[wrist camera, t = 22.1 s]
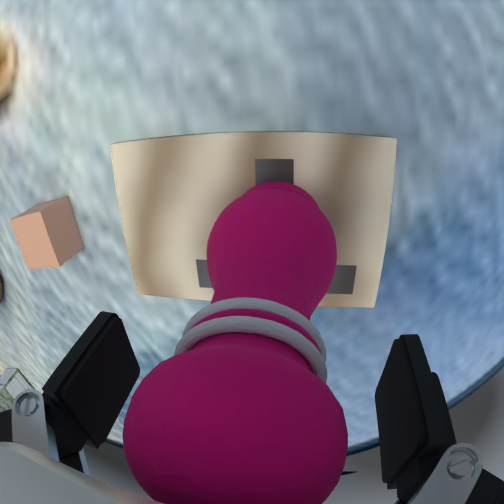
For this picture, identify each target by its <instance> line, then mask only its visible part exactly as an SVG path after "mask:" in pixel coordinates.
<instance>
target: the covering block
mask: <svg viewBox="0 0 504 504" xmlns="http://www.w3.org/2000/svg"><path fill="white" fill-rule="evenodd" d="M10 221H11V224H12V227H13V230H14V233H15V236H16V239H17V241H18V244H19V247H20V249H21V252H22V254H23V257H24V260H25V262H26V264H27V267H28V269H34V268H47V267H60V266H61V265H63V264H64V263H65V262H66V261H67V260H69V259H70V258H71V257H72V256H73V255H75V254H76V253H77V252H78V251H80V250H81V249H82V248H83V247H84V244H83V241H82V238H81V235H80V232H79V229H78V226H77V223H76V220H75V216H74V213H73V210H72V207H71V203H70V200H69V196H67V197H63V198H59V199H56V200H52V201H49V202H45V203H42V204H38V205H36V206H34V207H32V208H30V209H28V210H27V211H25V212H23V213H21V214H19V215H18V216H16V217H14V218H12V219H11V220H10Z"/></svg>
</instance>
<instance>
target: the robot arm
mask: <svg viewBox="0 0 504 504" xmlns="http://www.w3.org/2000/svg"><path fill="white" fill-rule="evenodd" d="M139 374H140V367H139V365H138V362H137V360H136V357H135V355H134V352H133V349H132V347H131V344H130V342H129V339H128V336H127V333H126V331H125V328H124V325H123V322H122V320H121V319H120V318H119V317H118V315H117V314H115V313H110V312H104V311H102V312H100V313H99V314H98V315H97V317H96V318H95V319H94V320H93V322H92V323H91V324H90V325H89V327H88V328H87V329H86V330H85V332H84V333H83V334H82V335H81V337H80V338H79V339H78V341H77V342H76V343H75V344H74V346H73V347H72V348H71V350H70V351H69V352H68V354H67V355H66V356H65V358H64V359H63V360H62V362H61V363H60V364H59V366H58V367H57V368H56V370H55V371H54V372H53V374H52V375H51V376H50V378H49V379H48V381H47V382H46V383H45V385H44V386H43V388H42V390H43V391H44V392H43V394H41V393H40V392H39V391H37V390H35V389H27V390H24V391H22V392H21V393H19V394H18V395H17V396H16V398H15V399H14V401H13V403H12V409H9V410H6V411H2V412H0V504H164V503H161V502H157V501H154V500H151V499H148V498H144V497H141V496H139V495H136V494H133V493H130V492H127V491H124V490H122V489H119V488H116V487H114V486H112V485H109V484H106V483H104V482H102V481H99V480H97V479H95V478H93V477H90V473H89V470H88V466H87V463H86V460H85V455H84V451H83V446H84V445H85V444H87V445H89V446H91V447H93V448H96V449H98V448H99V446H100V444H102V443H104V442H105V440H106V438H107V436H108V434H109V432H110V430H111V428H112V426H113V425H114V423H115V421H116V419H117V417H118V415H119V413H120V411H121V409H122V407H123V405H124V403H125V401H126V400H127V398H128V396H129V394H130V392H131V390H132V388H133V386H134V384H135V383H136V381H137V379H138V377H139ZM375 403H376V412H377V421H378V430H379V441H380V453H381V468H382V480H383V482H384V483H387V489H397V497H398V498H399V499H398V500H397V501H396V502H395V504H504V481H502V480H501V479H499V478H498V477H496V476H494V475H493V474H491V473H489V472H488V471H486V470H484V469H483V468H482V467H483V459H482V456H481V454H480V452H479V451H478V450H477V448H475V447H474V446H473V445H470V444H467V443H458V444H457V443H456V439H455V435H454V431H453V427H452V423H451V419H450V415H449V411H448V408H447V404H446V401H445V397H444V394H443V390H442V387H441V384H440V381H439V378H438V375H437V374H436V373H435V372H431V371H430V367H429V364H428V361H427V358H426V355H425V352H424V349H423V346H422V343H421V340H420V338H419V336H418V335H417V334H408V335H401V336H400V337H399V339H395V340H394V342H393V345H392V348H391V351H390V354H389V356H388V359H387V362H386V365H385V367H384V370H383V373H382V375H381V378H380V381H379V383H378V386H377V388H376V392H375Z"/></svg>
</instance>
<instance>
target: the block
mask: <svg viewBox="0 0 504 504" xmlns="http://www.w3.org/2000/svg"><path fill="white" fill-rule="evenodd" d="M1 298H2V282H1V279H0V302H1Z"/></svg>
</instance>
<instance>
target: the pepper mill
mask: <svg viewBox="0 0 504 504" xmlns="http://www.w3.org/2000/svg"><path fill="white" fill-rule="evenodd" d="M206 253H207V270H208V274H209V278H210V281H211V284H212V287H213V290H214V294H213V298H212V301H211V304H210V305H208V306H206V307H204V308H203V309H201V310H200V311H199V312H197V313H196V314H195V315H194V316H193V317H192V318H191V319H190V321H189V322H188V323H187V325H186V327H185V330H184V333H183V336H182V338H181V339H180V340H179V342H178V344H177V346H176V350H175V354H174V356H173V357H171V358H169V359H167V360H165V361H163V362H161V363H160V364H158V365H157V366H156V367H155V368H154V369H153V370H152V371H151V372H150V373H149V374H148V375H147V376H146V377H145V378H144V379H143V380H142V381H141V383H140V385H139V386H138V388H137V389H136V391H135V393H134V394H133V396H132V399H131V402H130V405H129V408H128V411H127V414H126V417H125V420H124V428H123V444H124V451H125V457H126V460H127V463H128V465H129V467H130V469H131V471H132V474H133V475H134V477H135V479H136V480H137V482H138V484H139V485H140V486H141V487H142V488H143V489H144V490H145V492H146V493H147V494H148V495H149V496H150V497H151V498H152V499H153V500H155V501H157V502H161V503H164V504H322V503H323V502H324V501H325V500H326V499H327V498H328V496H329V495H330V493H331V492H332V491H333V489H334V488H335V486H336V485H337V483H338V481H339V479H340V476H341V473H342V471H343V468H344V465H345V460H346V455H347V449H348V433H347V427H346V422H345V417H344V413H343V408H342V407H341V405H340V404H339V402H338V401H337V399H336V398H335V396H334V395H333V393H332V392H331V390H330V388H329V387H328V385H326V380H327V369H326V365H325V362H326V349H325V345H324V341H323V339H322V337H321V335H320V333H319V332H318V330H317V329H316V328H315V326H314V325H313V324H312V323H311V322H310V317H311V314H312V313H313V311H314V310H315V308H316V307H317V306H318V304H319V303H320V302H321V300H322V299H323V297H324V296H325V295H326V293H327V291H328V289H329V287H330V284H331V281H332V279H333V276H334V273H335V269H336V262H337V246H336V238H335V235H334V232H333V229H332V227H331V225H330V223H329V221H328V219H327V218H326V216H325V215H324V214H323V212H322V211H321V210H320V208H319V206H318V205H317V203H316V201H315V200H314V199H313V198H312V196H311V195H310V194H309V193H307V192H306V191H305V190H303V189H302V188H300V187H298V186H296V185H294V184H291V183H287V182H282V181H271V182H264V183H262V184H259V185H256V186H254V187H253V188H251V189H249V190H248V191H247V192H246V193H244V194H243V195H242V196H241V197H239V198H237V199H235V200H234V201H233V202H232V203H230V204H229V205H228V206H227V207H226V208H225V209H224V210H223V211H222V212H221V213H220V215H219V216H218V218H217V220H216V222H215V223H214V225H213V228H212V230H211V232H210V235H209V239H208V242H207V252H206Z"/></svg>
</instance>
